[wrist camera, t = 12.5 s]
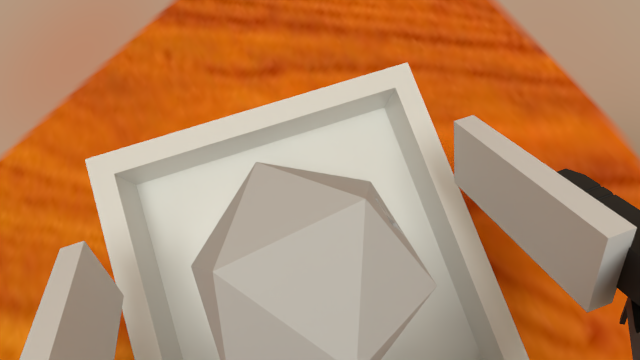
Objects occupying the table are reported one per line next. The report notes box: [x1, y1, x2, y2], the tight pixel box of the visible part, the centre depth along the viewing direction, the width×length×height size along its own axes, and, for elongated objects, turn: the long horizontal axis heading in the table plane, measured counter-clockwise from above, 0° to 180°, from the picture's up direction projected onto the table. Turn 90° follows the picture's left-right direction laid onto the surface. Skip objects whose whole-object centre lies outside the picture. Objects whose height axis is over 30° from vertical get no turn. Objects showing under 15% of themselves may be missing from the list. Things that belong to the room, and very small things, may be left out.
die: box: [191, 162, 437, 360], centre depth 16 cm, size 8×9×10 cm
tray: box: [85, 62, 529, 360], centre depth 19 cm, size 15×15×4 cm
